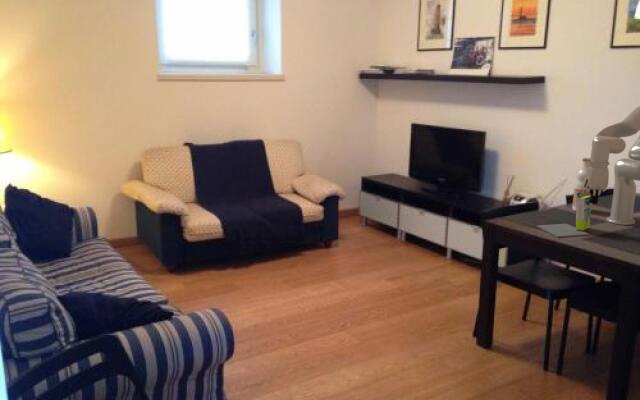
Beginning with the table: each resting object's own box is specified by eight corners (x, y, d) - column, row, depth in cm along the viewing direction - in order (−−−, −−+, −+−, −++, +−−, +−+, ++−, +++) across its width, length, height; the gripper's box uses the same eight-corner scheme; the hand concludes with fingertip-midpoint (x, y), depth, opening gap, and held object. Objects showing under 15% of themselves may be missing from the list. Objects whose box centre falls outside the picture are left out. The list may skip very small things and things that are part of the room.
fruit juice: (569, 210, 294) (574, 158, 287) (576, 207, 300) (582, 156, 293) (587, 213, 287) (593, 161, 280) (594, 210, 293) (600, 158, 287)
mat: (566, 224, 268) (566, 223, 268) (588, 235, 252) (588, 234, 252) (536, 226, 265) (536, 225, 265) (557, 237, 249) (557, 236, 249)
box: (584, 230, 255) (585, 193, 253) (574, 229, 257) (575, 193, 255) (590, 227, 262) (591, 191, 260) (581, 226, 265) (582, 191, 263)
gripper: (607, 163, 258) (602, 200, 263) (579, 163, 255) (574, 202, 260) (618, 165, 251) (613, 204, 255) (589, 166, 248) (584, 206, 253)
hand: (593, 203), depth 258 cm, fingers closed
